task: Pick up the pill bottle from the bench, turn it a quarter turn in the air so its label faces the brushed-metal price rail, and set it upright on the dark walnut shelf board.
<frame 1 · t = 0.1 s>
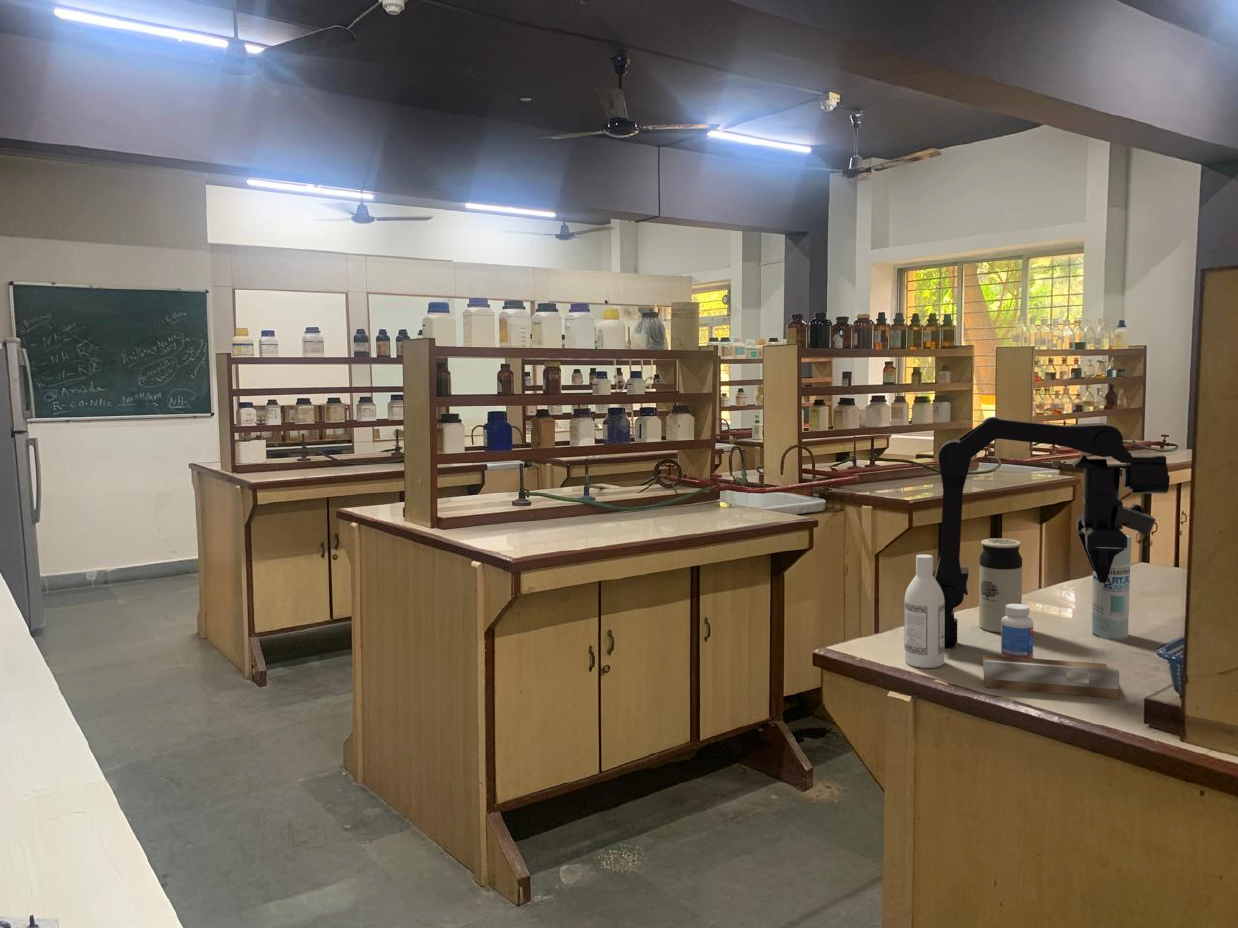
hand: (1099, 576, 166), 15 cm above the table, fingers open, 9 cm apart
shelf board: (1046, 679, 155), on the table
travel mug: (1000, 629, 185), on the table
spray paint can: (1109, 635, 178), on the table
pill bottle: (1016, 658, 167), on the table
bath foam: (924, 663, 166), on the table
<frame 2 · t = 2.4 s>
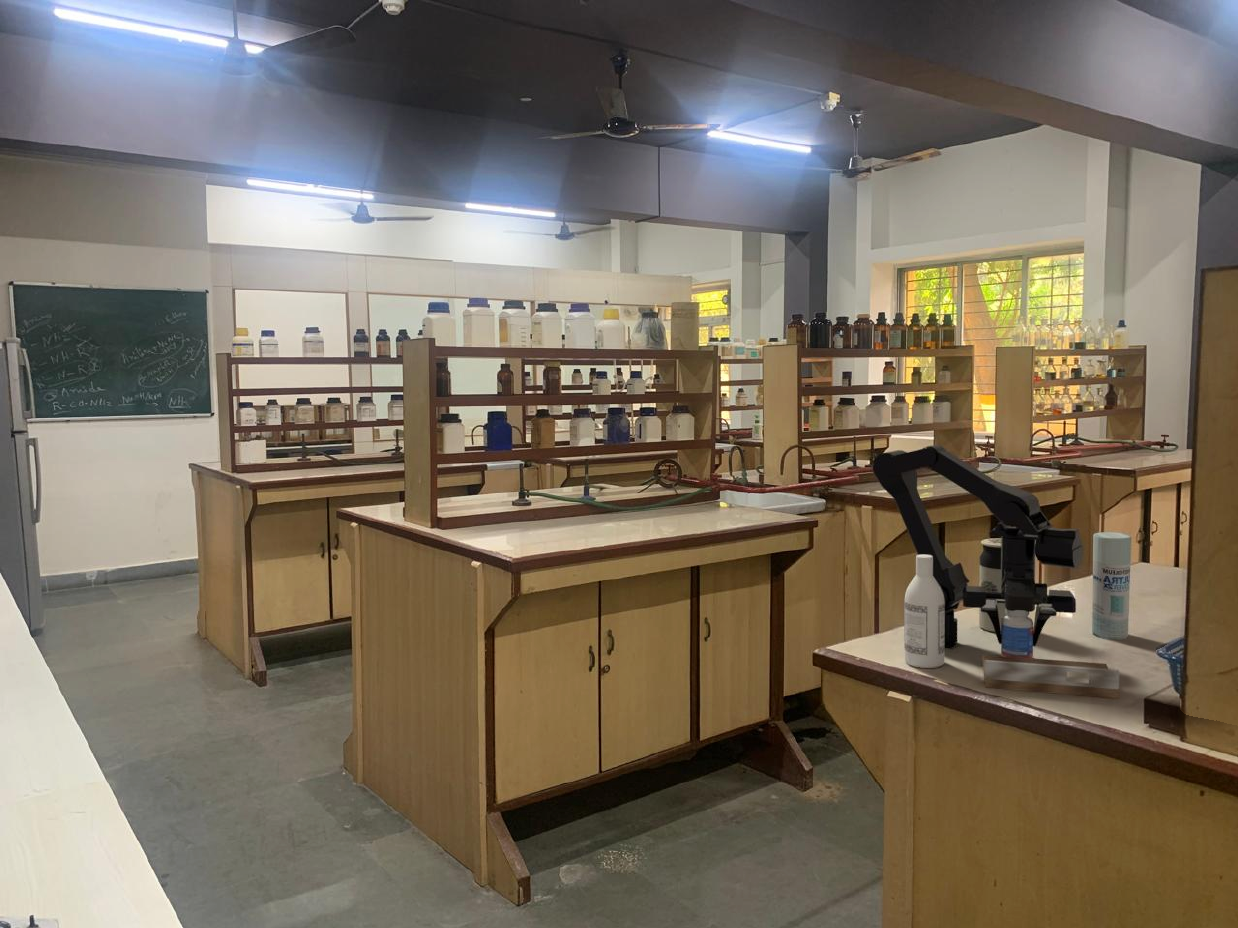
hand: (1016, 644, 167), 3 cm above the table, fingers closed on pill bottle, 5 cm apart
pill bottle: (1016, 658, 167), on the table, touching gripper
everything else where it was.
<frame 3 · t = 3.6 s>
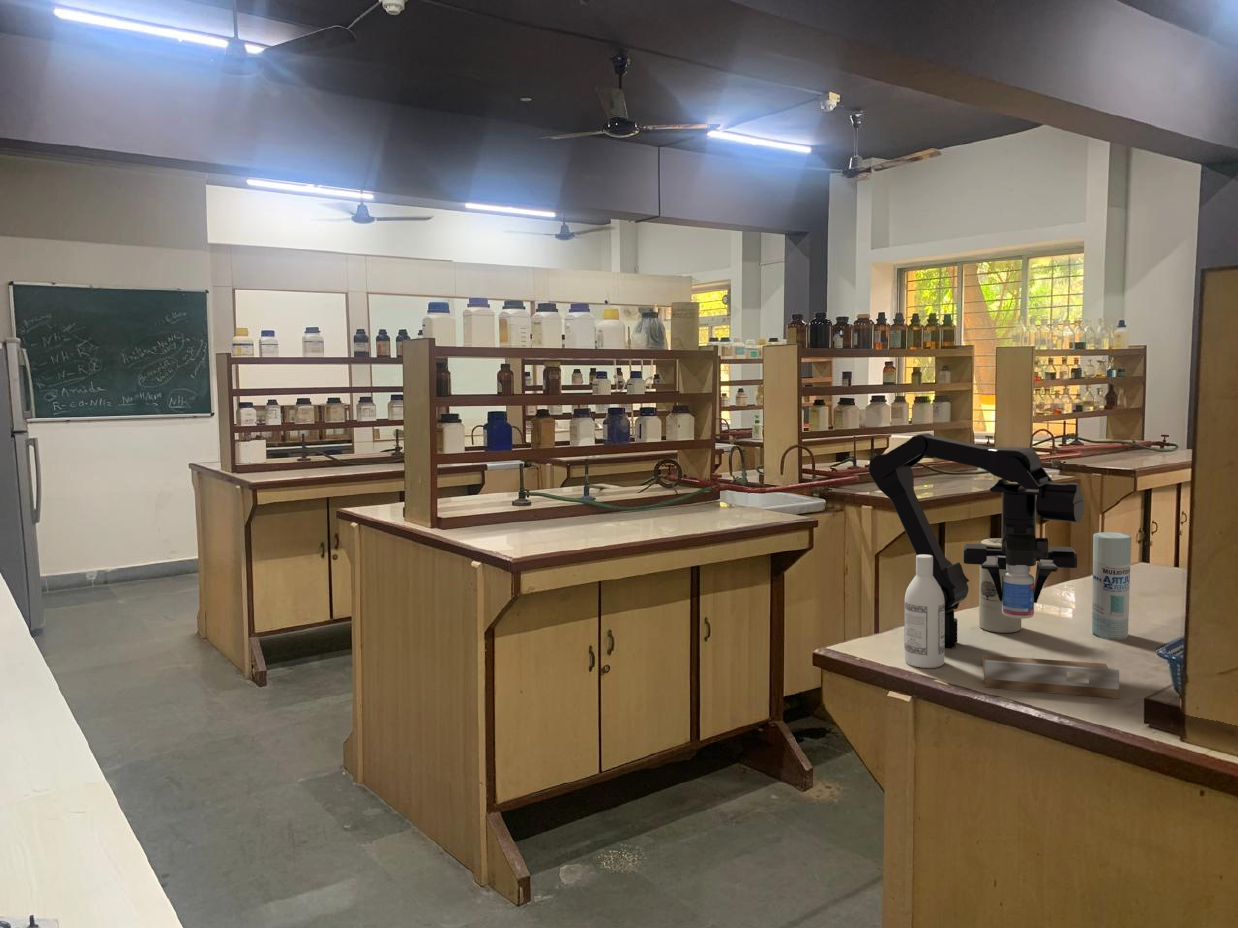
hand: (1017, 601, 166), 11 cm above the table, fingers closed on pill bottle, 5 cm apart
pill bottle: (1017, 616, 166), point 8 cm above the table, touching gripper
everything else where it was.
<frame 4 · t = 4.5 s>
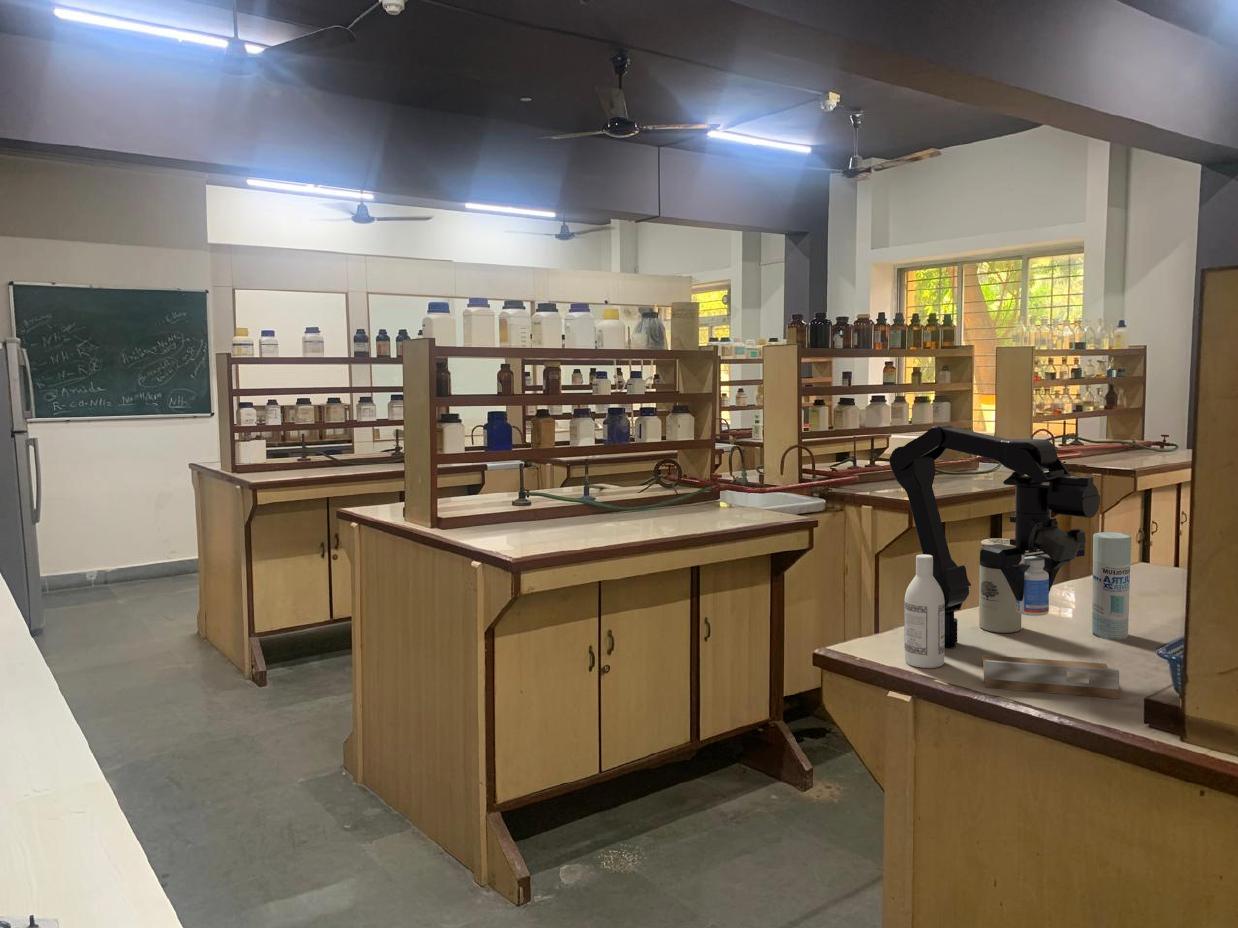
hand: (1031, 598, 160), 13 cm above the table, fingers closed on pill bottle, 5 cm apart
pill bottle: (1031, 613, 161), point 10 cm above the table, touching gripper
everything else where it was.
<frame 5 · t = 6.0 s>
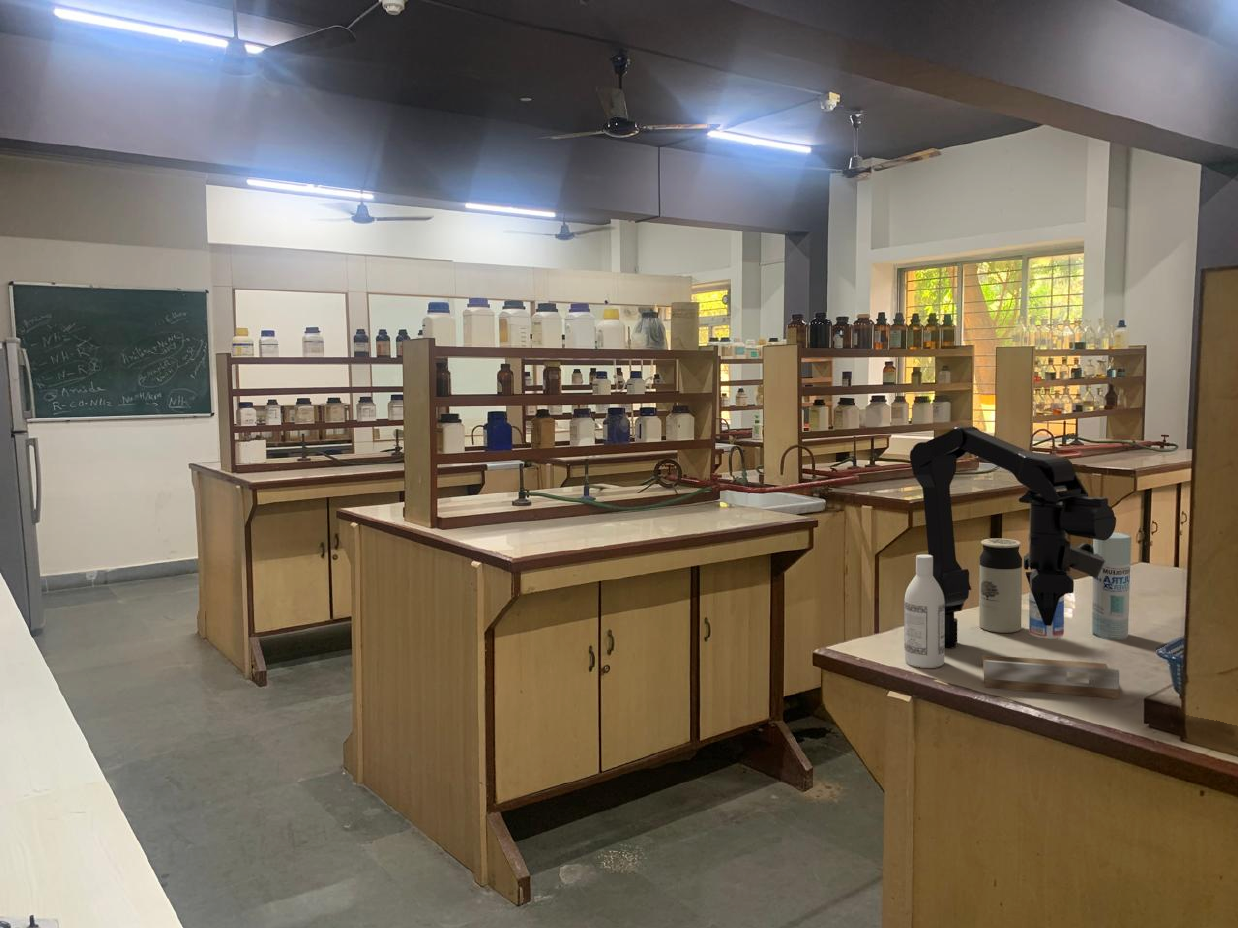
hand: (1046, 620, 155), 10 cm above the table, fingers closed on pill bottle, 5 cm apart
pill bottle: (1045, 635, 156), point 7 cm above the table, touching gripper
everything else where it was.
when the fingers open (5 cm above the table, at t = 7.1 s): pill bottle drops 1 cm, resting on shelf board.
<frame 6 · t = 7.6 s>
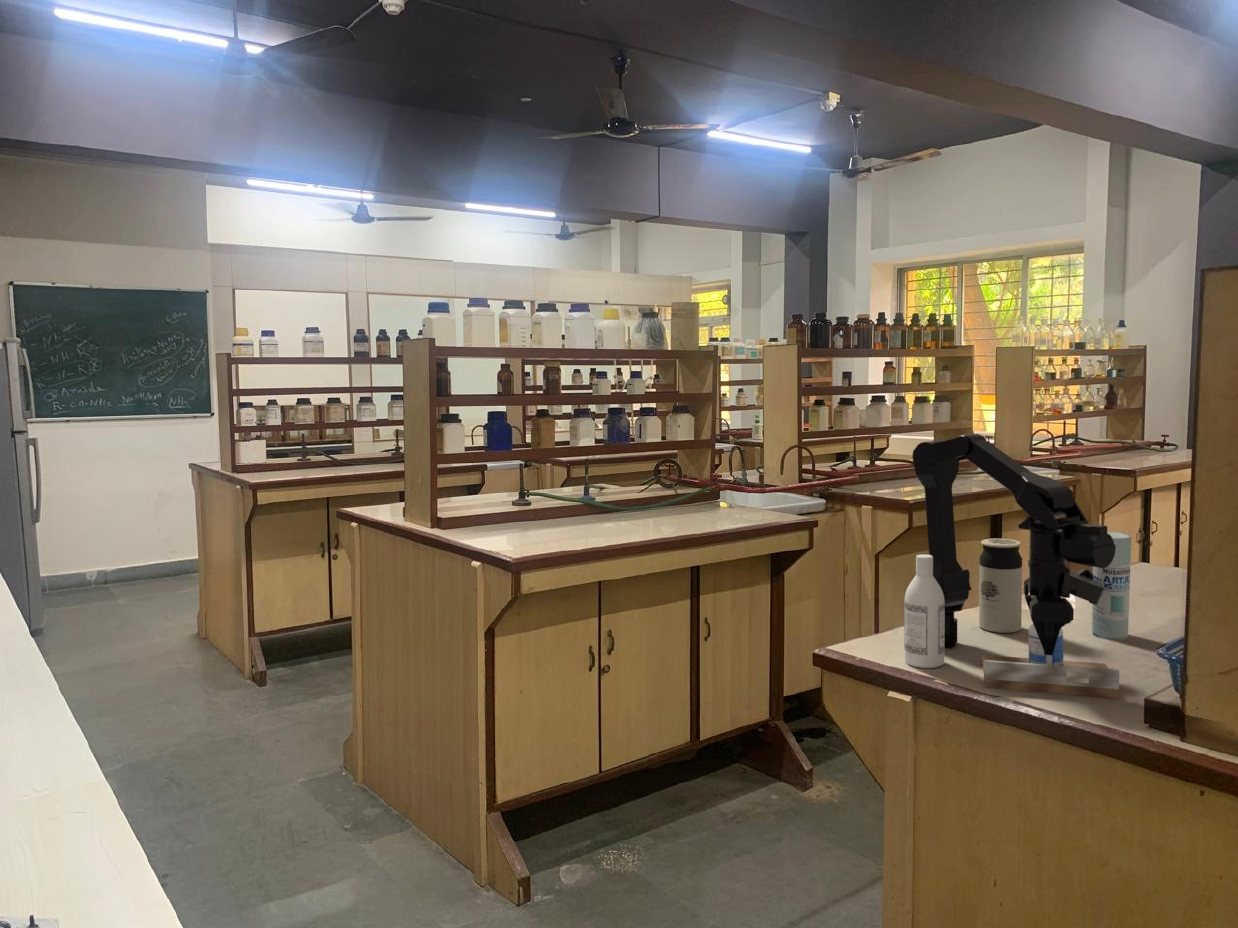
hand: (1046, 646, 156), 5 cm above the table, fingers open, 9 cm apart
pill bottle: (1045, 669, 156), point 1 cm above the table, touching shelf board
everything else where it was.
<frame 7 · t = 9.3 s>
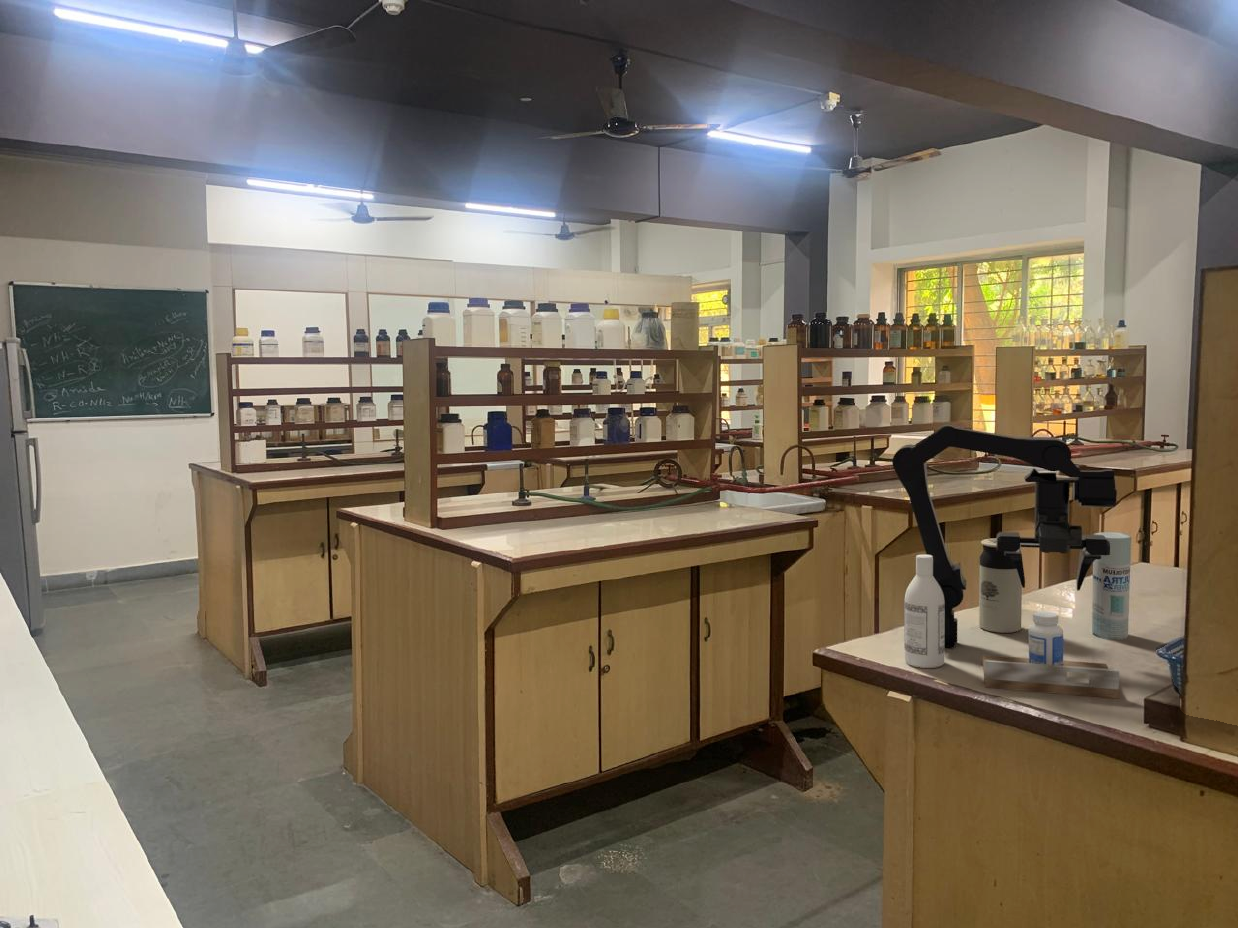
hand: (1050, 588, 169), 12 cm above the table, fingers open, 9 cm apart
nothing on the table moved.
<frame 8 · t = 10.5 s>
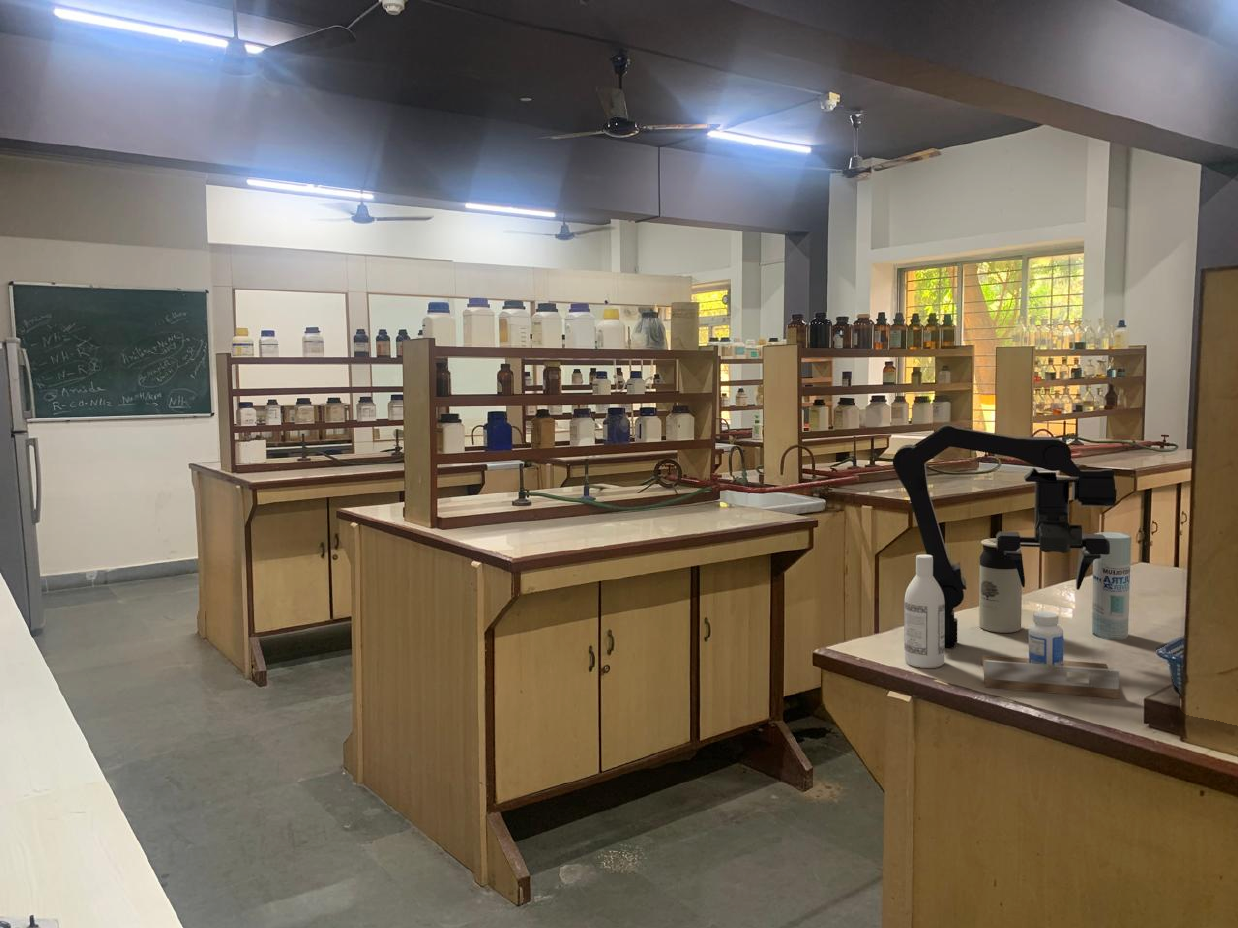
hand: (1050, 587, 169), 12 cm above the table, fingers open, 9 cm apart
nothing on the table moved.
at the end: pill bottle inside the target area on the shelf board (0.6 cm from its centre), point 1.3 cm above the shelf board's base; pill bottle tilted 0°; the gripper is holding nothing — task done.
